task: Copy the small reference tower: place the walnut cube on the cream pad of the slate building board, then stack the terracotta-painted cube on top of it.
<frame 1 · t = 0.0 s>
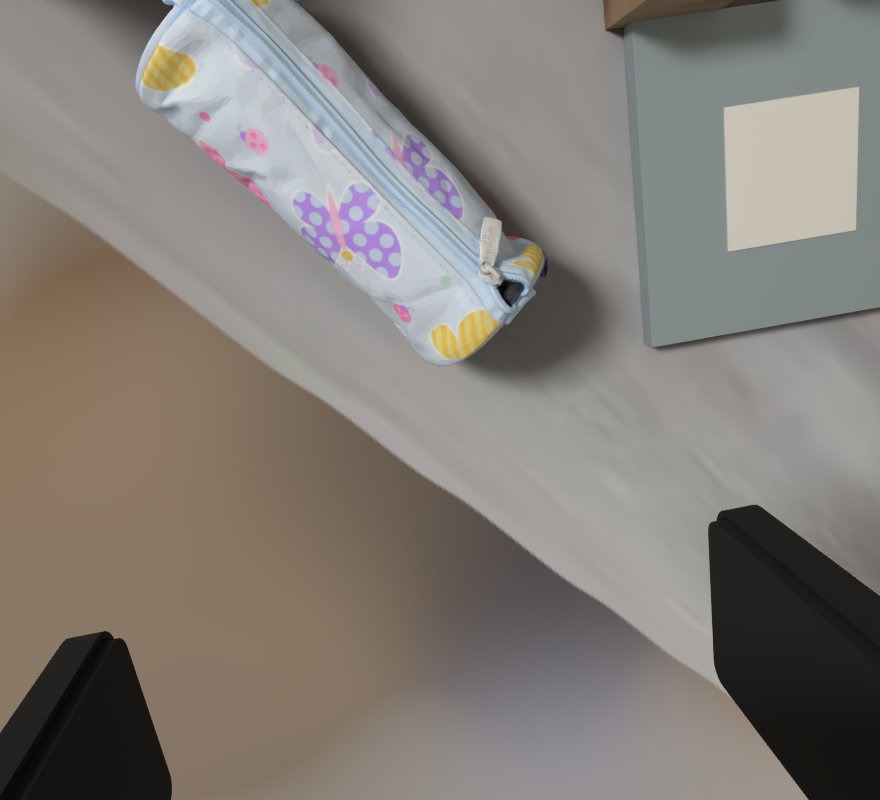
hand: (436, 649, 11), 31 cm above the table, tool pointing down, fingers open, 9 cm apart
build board: (779, 172, 41), on the table
pencil case: (355, 183, 39), on the table
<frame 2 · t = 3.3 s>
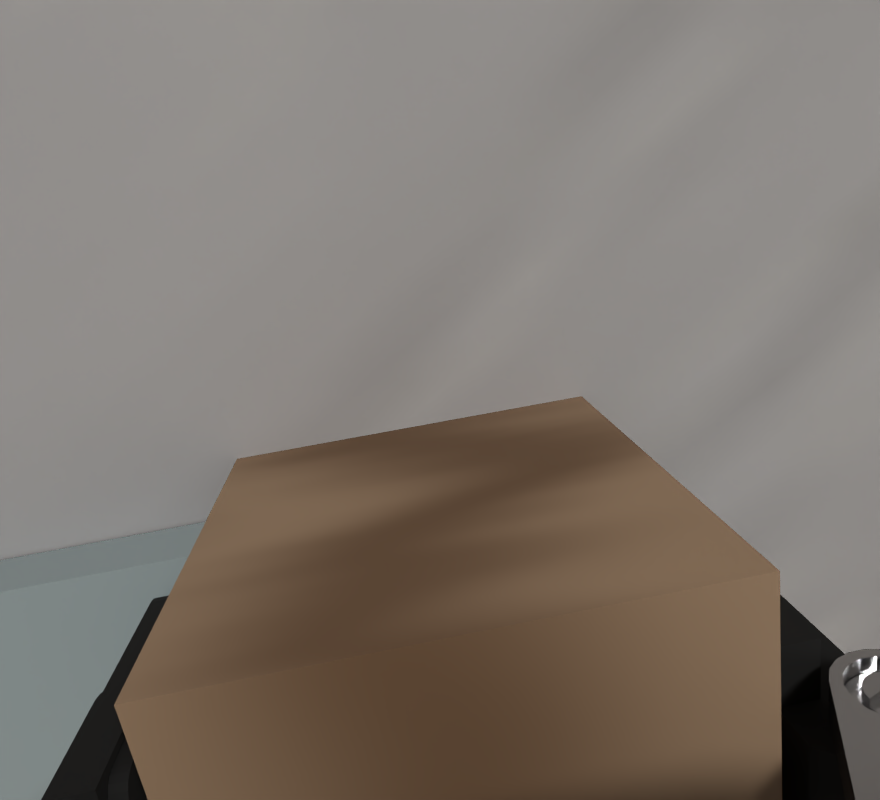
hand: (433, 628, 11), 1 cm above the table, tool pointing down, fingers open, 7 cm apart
walnut block: (438, 576, 13), on the table
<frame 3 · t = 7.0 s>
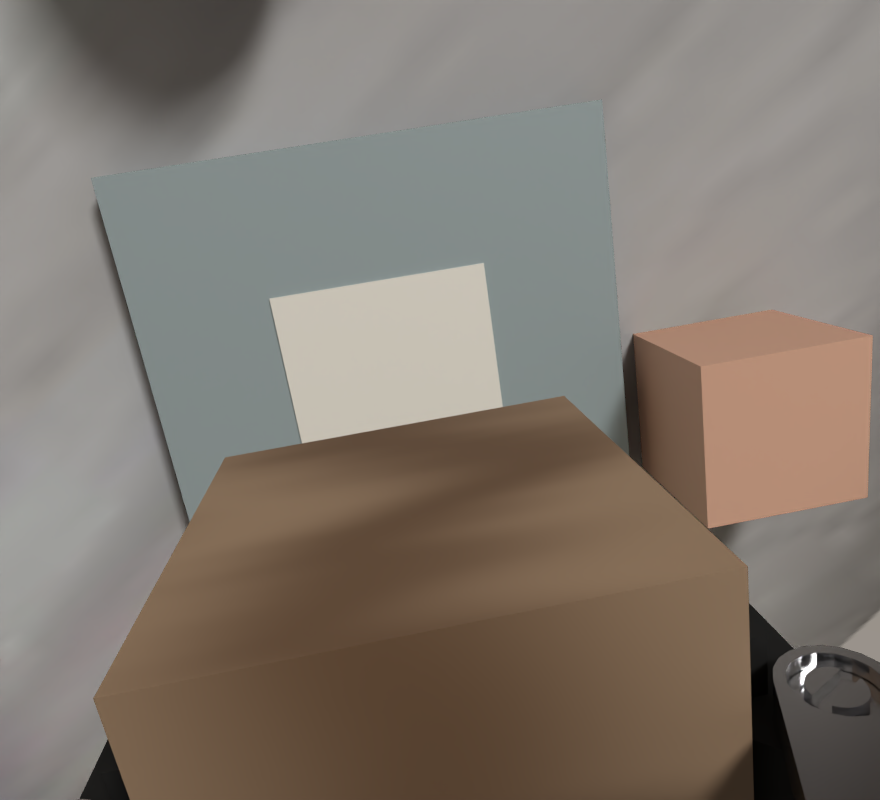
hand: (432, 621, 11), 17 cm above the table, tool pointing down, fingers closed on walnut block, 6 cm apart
terracotta block: (704, 389, 29), on the table
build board: (394, 376, 27), on the table
walnut block: (424, 576, 13), point 15 cm above the table, touching gripper
when the fingers open (3 cm above the table, at t = 9.7 s): walnut block stays where it is, resting on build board.
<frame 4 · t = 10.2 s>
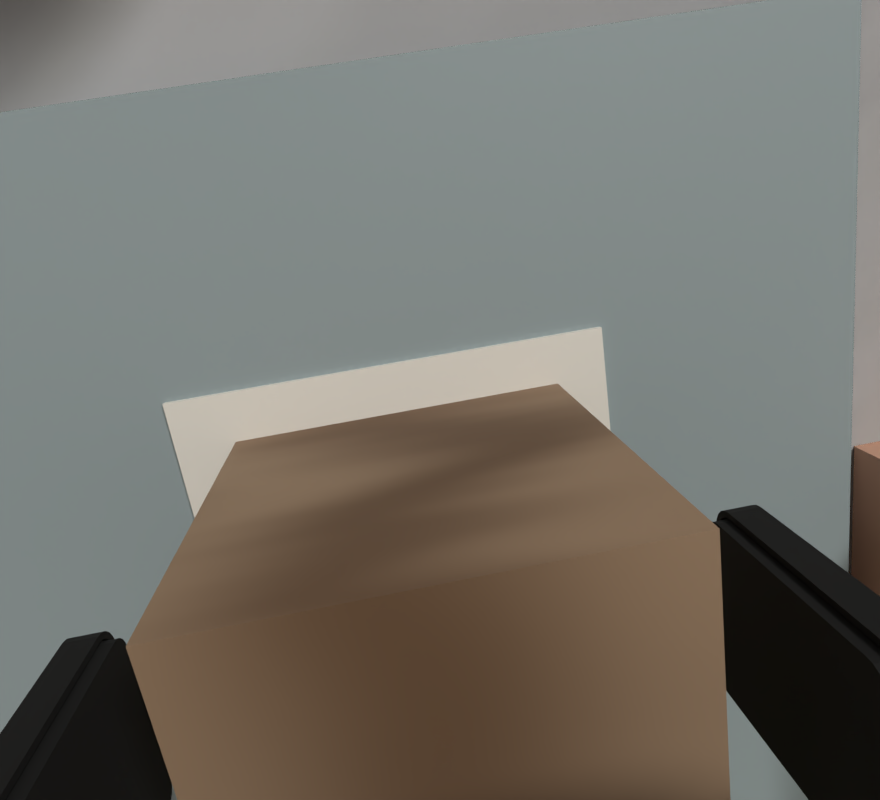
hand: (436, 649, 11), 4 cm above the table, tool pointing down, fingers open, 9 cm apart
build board: (416, 530, 15), on the table
walnut block: (425, 556, 13), point 1 cm above the table, touching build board
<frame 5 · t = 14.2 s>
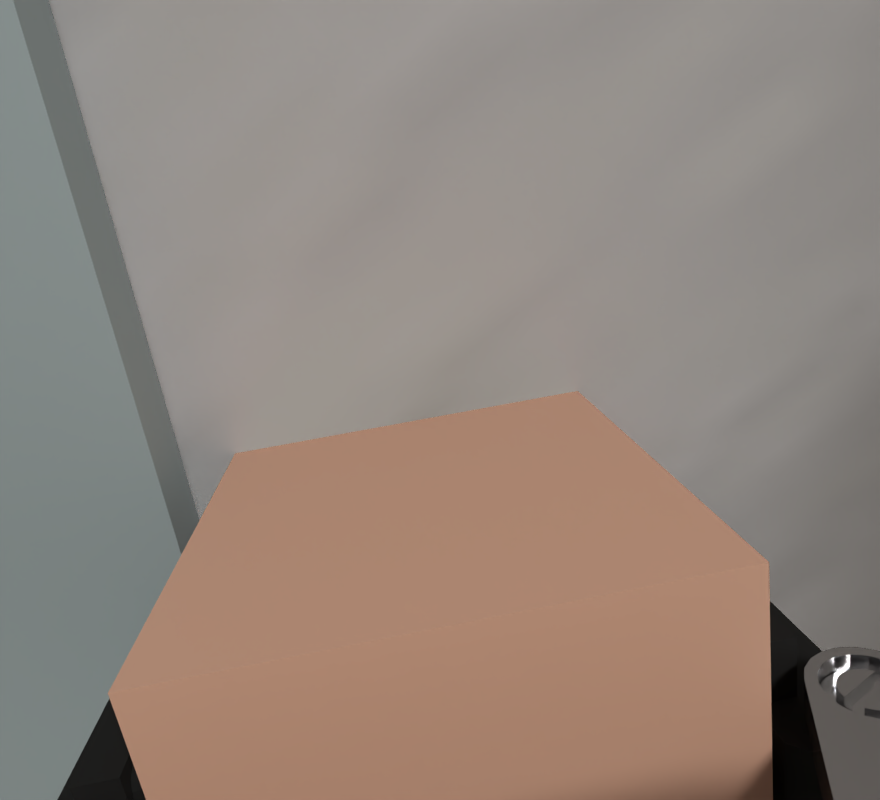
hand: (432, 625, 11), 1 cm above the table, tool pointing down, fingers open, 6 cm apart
terracotta block: (435, 571, 13), on the table
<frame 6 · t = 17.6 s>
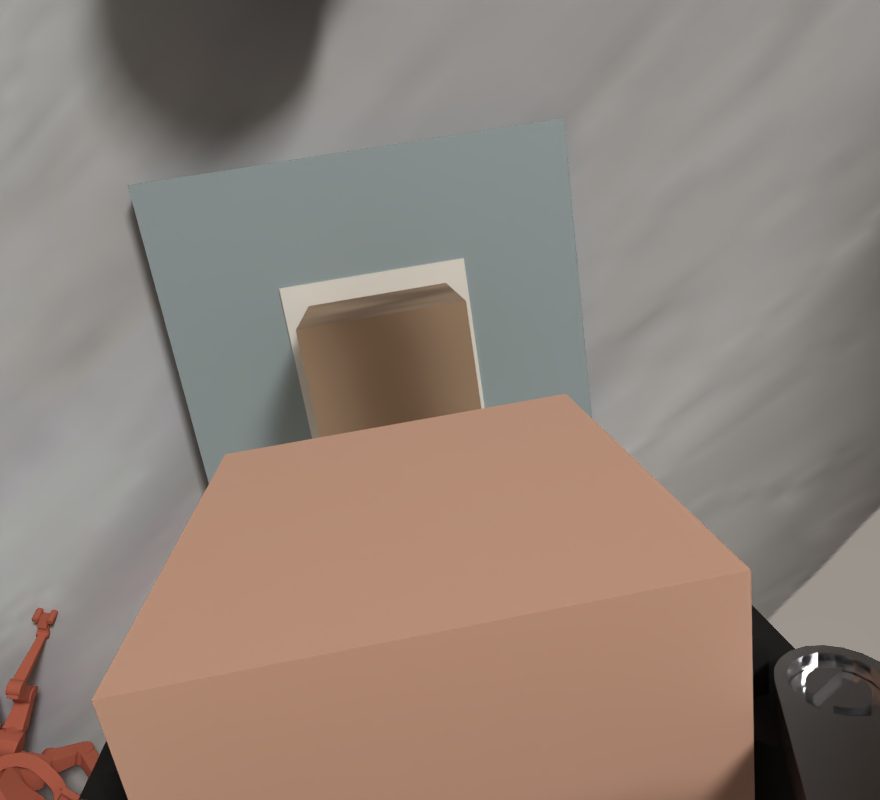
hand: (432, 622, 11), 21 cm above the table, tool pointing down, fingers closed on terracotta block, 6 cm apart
beetle: (41, 733, 35), on the table
terracotta block: (424, 573, 13), point 20 cm above the table, touching gripper
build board: (387, 357, 32), on the table
walnut block: (389, 361, 30), point 1 cm above the table, touching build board
when the fingers open (9 cm above the table, at t = 20.6 s): terracotta block stays where it is, resting on walnut block.
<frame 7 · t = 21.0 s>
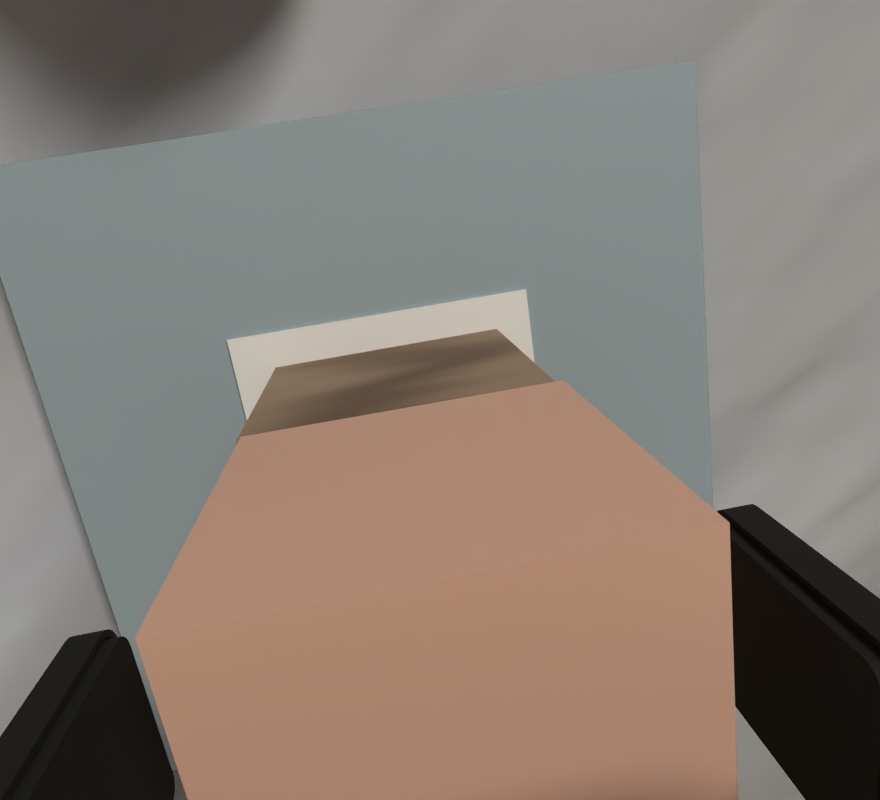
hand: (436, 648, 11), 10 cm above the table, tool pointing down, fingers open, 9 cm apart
terracotta block: (429, 552, 13), point 7 cm above the table, touching walnut block
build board: (401, 439, 20), on the table
walnut block: (405, 451, 19), point 1 cm above the table, touching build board, terracotta block
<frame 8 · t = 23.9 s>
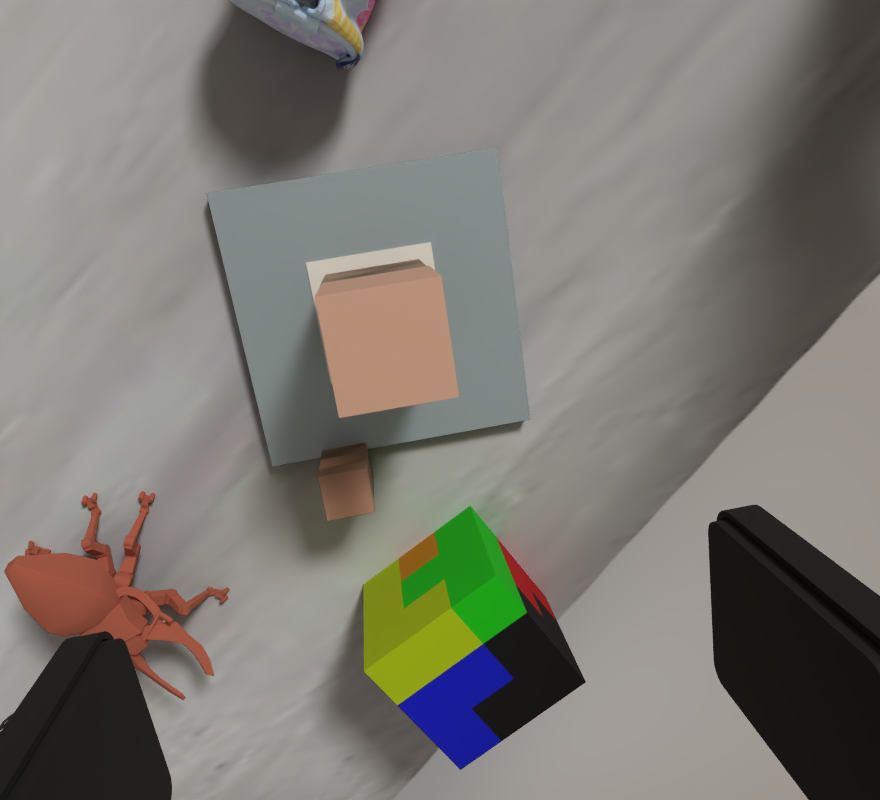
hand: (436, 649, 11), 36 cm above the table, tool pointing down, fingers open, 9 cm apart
beetle: (137, 586, 49), on the table
reference tower: (348, 460, 48), on the table
puzzle toy: (455, 589, 52), on the table
terracotta block: (385, 327, 38), point 7 cm above the table, touching walnut block
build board: (379, 311, 45), on the table
walnut block: (380, 313, 44), point 1 cm above the table, touching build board, terracotta block
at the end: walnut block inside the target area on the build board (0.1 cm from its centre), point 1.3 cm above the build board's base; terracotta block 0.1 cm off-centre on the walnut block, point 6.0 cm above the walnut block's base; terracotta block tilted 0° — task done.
